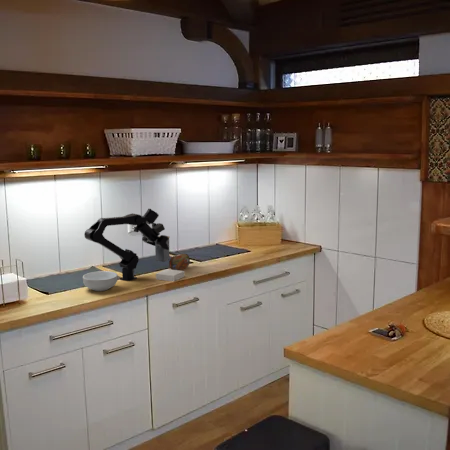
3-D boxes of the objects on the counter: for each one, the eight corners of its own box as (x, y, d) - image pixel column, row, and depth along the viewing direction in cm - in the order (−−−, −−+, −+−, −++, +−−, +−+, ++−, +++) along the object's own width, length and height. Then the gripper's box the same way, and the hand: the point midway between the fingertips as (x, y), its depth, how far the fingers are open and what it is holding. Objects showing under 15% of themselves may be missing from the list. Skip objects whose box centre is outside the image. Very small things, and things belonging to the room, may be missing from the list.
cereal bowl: (76, 289, 272) (75, 275, 271) (104, 282, 284) (104, 269, 283) (96, 295, 260) (95, 281, 259) (124, 288, 272) (124, 274, 271)
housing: (164, 262, 299) (163, 238, 297) (155, 260, 301) (154, 237, 299) (170, 259, 304) (169, 236, 302) (161, 258, 306) (160, 235, 304)
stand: (174, 281, 285) (173, 275, 284) (155, 279, 289) (155, 273, 289) (184, 276, 295) (184, 271, 294) (166, 274, 299) (166, 269, 299)
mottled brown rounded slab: (172, 272, 304) (172, 257, 303) (168, 271, 306) (168, 256, 305) (190, 267, 316) (190, 252, 315) (186, 266, 318) (185, 252, 317)
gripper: (165, 221, 289) (182, 239, 298) (146, 217, 303) (163, 234, 312) (152, 237, 286) (170, 255, 294) (134, 233, 300) (152, 250, 308)
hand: (164, 248), depth 302 cm, fingers closed on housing, 7 cm apart
